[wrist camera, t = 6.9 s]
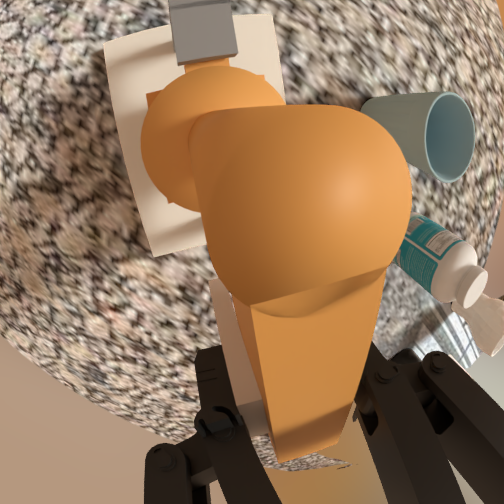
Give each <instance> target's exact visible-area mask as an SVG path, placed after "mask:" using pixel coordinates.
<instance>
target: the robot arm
mask: <svg viewBox="0 0 504 504" xmlns="http://www.w3.org/2000/svg"><path fill="white" fill-rule="evenodd" d="M208 282H209V287H210V292H211V297H212V302H213V307H214V312H215V317H216V321H217V326H218V330H219V335H220V339H221V344H222V345H219V346H215V347H210V348H206V349H202V350H198V352H197V355H196V358H195V361H194V363H195V370H196V377H197V383H198V391H199V398H200V404H201V410H200V411H199V412H198V413H197V414H196V417H195V419H194V426H195V429H196V430H197V432H196V434H195V435H193V436H192V437H190V438H188V439H186V440H184V441H182V442H180V443H178V444H176V445H173V444H168V443H162V444H158V445H156V446H154V447H152V448H151V449H150V450H149V452H148V453H147V456H146V459H145V478H144V504H211V498H210V486H209V483H211V482H213V481H215V480H217V479H218V481H219V484H220V487H221V489H222V491H223V494H224V496H225V499H226V501H227V504H282V503H281V501H280V499H279V497H278V495H277V493H276V491H275V490H274V487H273V486H272V484H271V482H270V480H269V478H268V476H267V474H266V472H265V470H264V468H263V466H262V464H261V462H260V459H259V457H258V455H257V453H256V451H255V449H254V447H253V444H252V441H251V437H254V436H258V435H261V434H265V433H269V428H268V424H267V419H266V414H265V410H264V405H263V400H262V397H261V394H260V391H259V388H258V385H257V382H256V379H255V376H254V373H253V370H252V366H251V363H250V360H249V357H248V354H247V351H246V348H245V344H244V341H243V338H242V335H241V331H240V328H239V325H238V322H237V318H236V315H235V312H234V308H233V305H232V302H231V298H230V295H229V291H228V290H227V289H226V287H225V286H224V284H223V283H222V282H221V280H220V279H219V278H217V279H213V280H209V281H208ZM354 401H355V403H356V408H355V411H354V414H353V422H354V421H356V419H357V418H358V420H359V423H360V426H361V428H362V431H363V433H364V436H365V439H366V442H367V444H368V447H369V450H370V452H371V455H372V458H373V461H374V463H375V466H376V469H377V472H378V475H379V478H380V480H381V483H382V486H383V489H384V492H385V495H386V498H387V501H388V504H466V503H465V500H464V497H463V495H462V492H461V490H460V487H459V485H458V483H457V480H456V477H455V475H454V473H453V471H452V468H451V466H450V463H449V461H450V462H451V463H452V465H453V466H454V467H455V468H456V469H457V471H458V472H459V473H460V474H461V475H462V477H463V478H464V479H465V480H466V482H467V483H468V484H469V485H470V486H471V487H472V489H473V490H474V491H475V493H476V494H477V495H478V496H479V498H480V499H481V500H482V501H483V502H484V504H504V410H503V409H502V408H501V407H500V406H499V405H498V404H497V403H496V402H495V401H494V400H493V399H492V398H491V397H490V396H489V395H488V394H487V393H486V392H485V391H484V390H483V389H482V388H481V387H480V386H479V385H478V384H477V383H476V382H475V381H474V380H473V379H472V378H471V377H470V376H469V375H468V374H467V373H466V372H465V371H464V370H463V369H462V368H461V367H460V366H459V365H458V364H457V363H456V362H455V361H454V360H453V359H452V358H451V357H450V356H448V355H447V354H445V353H444V352H440V351H432V352H430V353H428V354H427V355H426V356H425V357H424V358H423V360H422V362H417V363H411V364H405V365H399V364H397V363H395V362H393V361H389V360H387V359H385V358H384V356H383V355H382V354H381V353H380V351H379V350H378V349H377V347H376V346H375V345H374V343H373V342H372V341H371V344H370V348H369V352H368V355H367V359H366V362H365V366H364V369H363V373H362V376H361V379H360V382H359V385H358V388H357V391H356V394H355V397H354ZM448 460H449V461H448Z"/></svg>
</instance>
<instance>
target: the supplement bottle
mask: <svg viewBox="0 0 504 504" xmlns="http://www.w3.org/2000/svg"><path fill="white" fill-rule="evenodd" d="M391 361H393V362H395V363H397V364H399V365H405V364H411V363H417V362H422V360H421V359H420V358H419V357H418V356H417V354H416V353H415V352H414V351H413V350H412V349H409V348H408V349H405V350H403V351H401V352H399V353H398V354H397V355H396V356H395V357H394V358H393V359H392V360H391Z"/></svg>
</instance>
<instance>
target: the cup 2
mask: <svg viewBox="0 0 504 504" xmlns="http://www.w3.org/2000/svg"><path fill="white" fill-rule="evenodd" d="M451 309H452V311H454V312H455V313H457V314H458V315H460V316H461V317H463V318H464V319H465V321H466V322H467V324H468V325H469V326H470V330H471V333H472V336H473V338H474V341H475V343H476V345H477V346H478V347H479V348H480V349H481V350H482V351H483V352H485V353H486V354H488V355H490V356H491V357H492V356H494V355H495V354H496V353H497V352H498V351H499V350H500V349H501V348H502V346H503V345H504V301H502V300H500V299H495V298H490V297H488V296H486V295H485V294H483V293H481V295H480V296H479V298H478V299H477V300H476V302H475V303H474V304H473V305H472V306H470V307H469V308H463V307H462V306H461V305H460V304H458V303H457V300H454V301H453V302H452V305H451Z"/></svg>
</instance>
